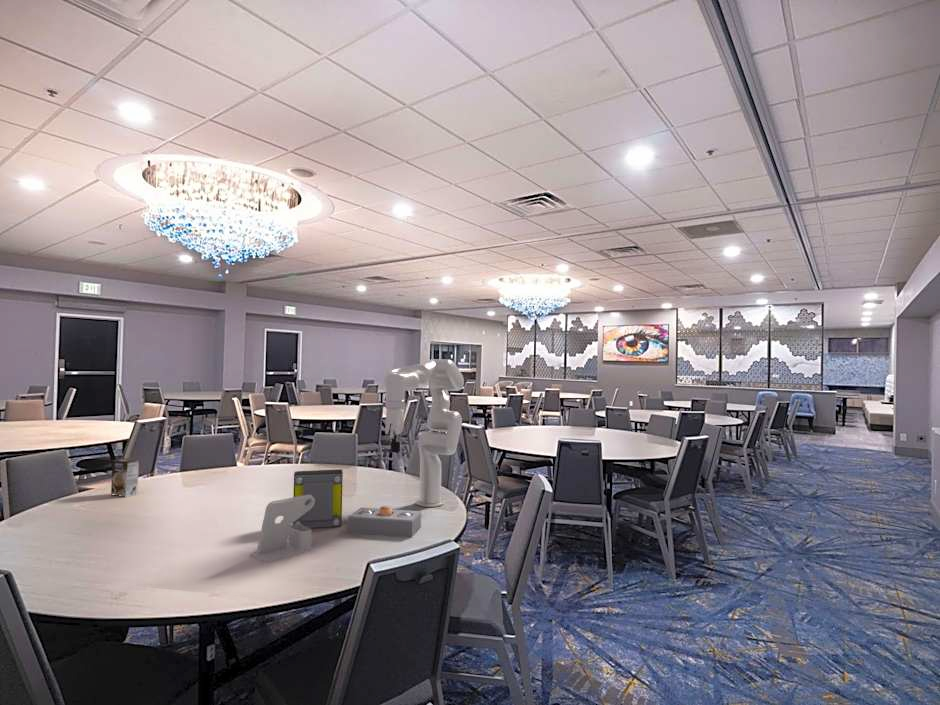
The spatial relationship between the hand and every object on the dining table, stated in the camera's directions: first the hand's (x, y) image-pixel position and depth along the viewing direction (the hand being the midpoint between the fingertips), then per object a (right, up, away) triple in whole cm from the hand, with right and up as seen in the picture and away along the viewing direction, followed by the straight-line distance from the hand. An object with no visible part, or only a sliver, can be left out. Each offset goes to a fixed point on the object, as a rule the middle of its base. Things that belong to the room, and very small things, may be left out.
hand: (395, 451), depth 204 cm
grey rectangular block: (-2, -27, -9) cm, 29 cm away
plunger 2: (+5, -26, -11) cm, 29 cm away
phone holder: (-32, -26, -33) cm, 53 cm away
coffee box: (-129, -27, +36) cm, 137 cm away
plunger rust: (-2, -24, -9) cm, 26 cm away
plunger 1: (-10, -26, -8) cm, 29 cm away
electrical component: (-29, -27, -5) cm, 40 cm away
